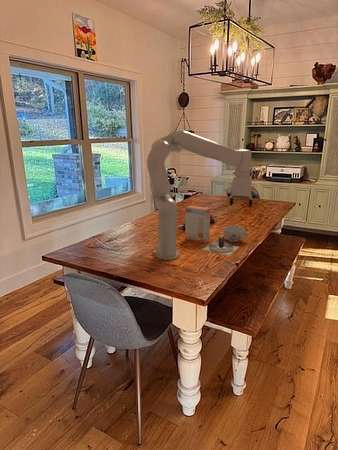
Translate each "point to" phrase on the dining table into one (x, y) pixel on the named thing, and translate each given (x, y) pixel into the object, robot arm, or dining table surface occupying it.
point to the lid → (221, 246)
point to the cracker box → (197, 224)
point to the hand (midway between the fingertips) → (240, 205)
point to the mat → (221, 253)
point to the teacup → (234, 233)
